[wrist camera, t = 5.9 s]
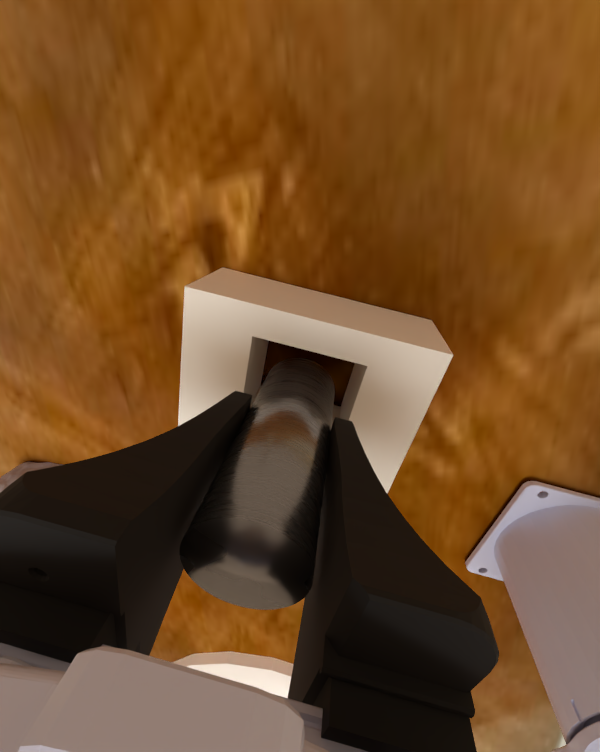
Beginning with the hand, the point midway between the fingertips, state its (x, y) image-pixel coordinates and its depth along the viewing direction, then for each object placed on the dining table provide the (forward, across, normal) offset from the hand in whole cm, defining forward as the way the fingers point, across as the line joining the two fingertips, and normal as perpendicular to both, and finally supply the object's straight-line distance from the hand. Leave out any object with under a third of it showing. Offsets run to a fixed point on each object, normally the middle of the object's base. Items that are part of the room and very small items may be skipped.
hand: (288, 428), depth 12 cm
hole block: (+6, 0, +4) cm, 7 cm away
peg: (+3, 0, 0) cm, 3 cm away
